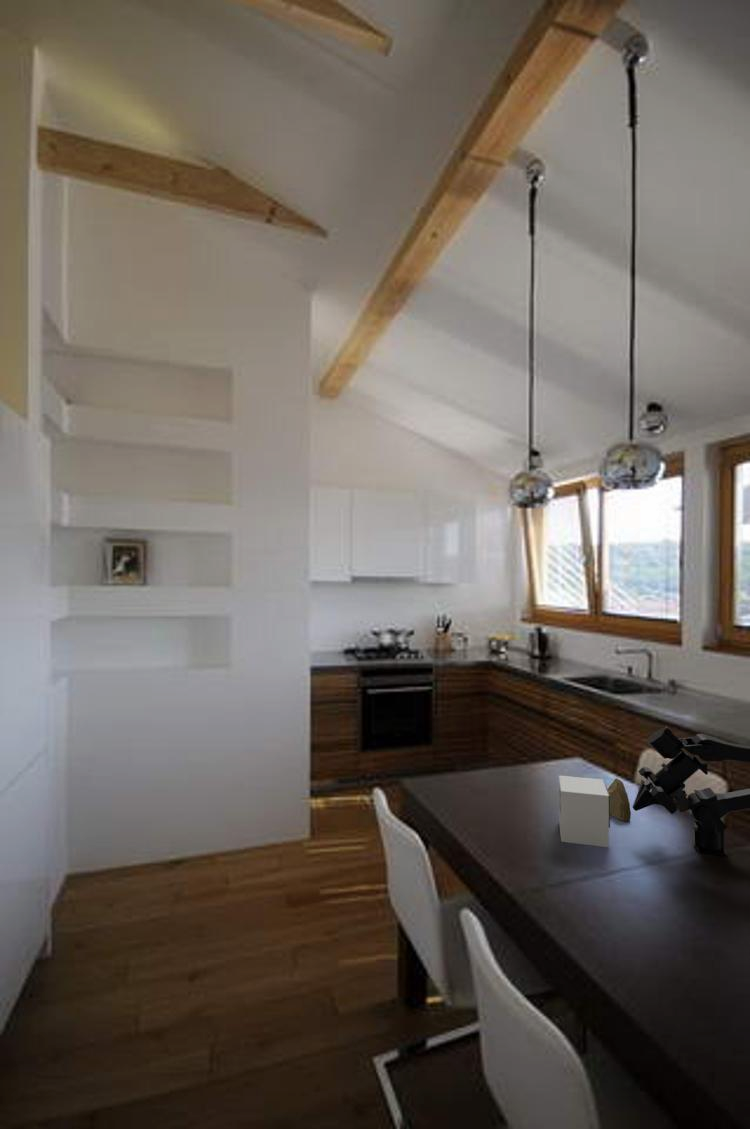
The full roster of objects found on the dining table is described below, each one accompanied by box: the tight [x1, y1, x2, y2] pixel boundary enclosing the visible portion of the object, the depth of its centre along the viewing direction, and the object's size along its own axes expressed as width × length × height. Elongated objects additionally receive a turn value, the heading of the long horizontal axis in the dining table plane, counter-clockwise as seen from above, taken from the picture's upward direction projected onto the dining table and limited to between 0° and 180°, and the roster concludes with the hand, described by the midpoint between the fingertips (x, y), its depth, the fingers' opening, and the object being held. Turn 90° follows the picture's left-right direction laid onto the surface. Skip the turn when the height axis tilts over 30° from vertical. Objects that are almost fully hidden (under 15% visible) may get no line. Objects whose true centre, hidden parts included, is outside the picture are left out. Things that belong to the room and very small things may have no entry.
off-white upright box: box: [558, 775, 611, 848], centre depth 159 cm, size 13×13×14 cm
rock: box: [607, 778, 632, 822], centre depth 172 cm, size 11×9×10 cm
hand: (634, 809), depth 156 cm, fingers closed
